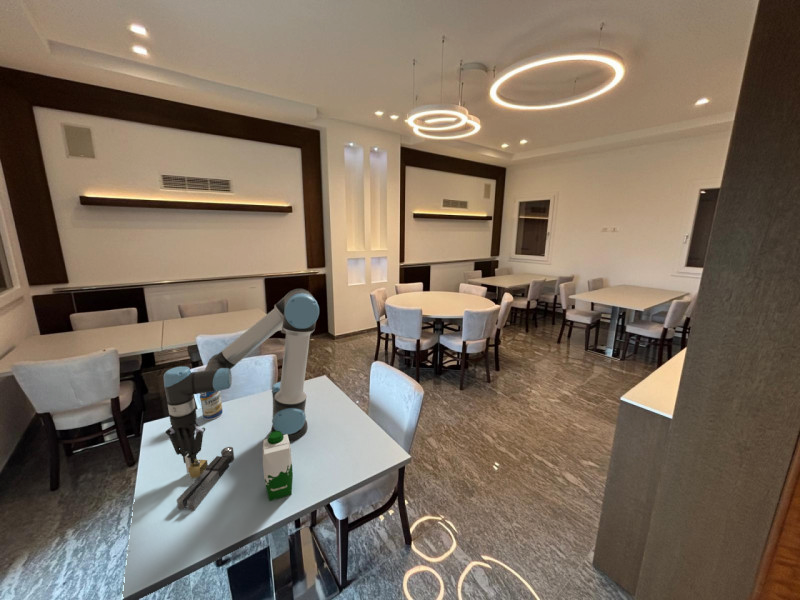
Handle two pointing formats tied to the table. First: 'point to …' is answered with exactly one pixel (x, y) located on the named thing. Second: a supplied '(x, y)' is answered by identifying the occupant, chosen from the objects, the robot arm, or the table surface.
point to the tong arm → (196, 484)
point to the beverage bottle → (211, 405)
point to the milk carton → (277, 465)
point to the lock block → (197, 468)
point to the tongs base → (211, 478)
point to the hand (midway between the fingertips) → (191, 470)
